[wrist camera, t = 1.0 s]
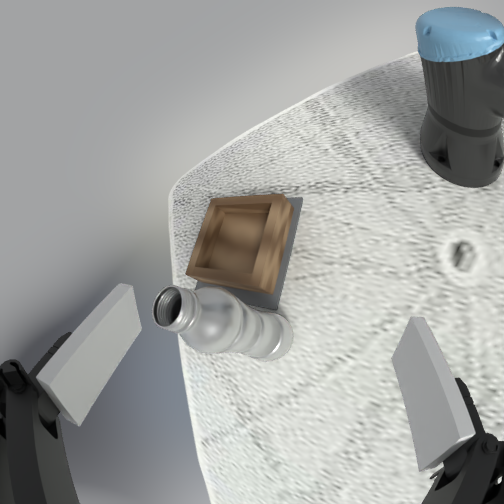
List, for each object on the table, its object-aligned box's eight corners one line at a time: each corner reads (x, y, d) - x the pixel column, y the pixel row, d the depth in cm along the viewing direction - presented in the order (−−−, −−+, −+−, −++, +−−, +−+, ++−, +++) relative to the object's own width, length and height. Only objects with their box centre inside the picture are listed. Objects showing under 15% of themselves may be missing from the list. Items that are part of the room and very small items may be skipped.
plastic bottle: (248, 330, 39) (136, 293, 23) (287, 307, 37) (188, 252, 22) (264, 369, 35) (147, 359, 20) (306, 348, 33) (208, 323, 18)
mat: (225, 202, 52) (224, 201, 52) (303, 198, 43) (302, 197, 43) (195, 292, 47) (194, 292, 46) (276, 310, 38) (275, 309, 38)
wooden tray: (225, 210, 50) (211, 198, 47) (294, 208, 43) (283, 193, 39) (201, 282, 46) (185, 274, 43) (272, 294, 39) (258, 286, 35)
